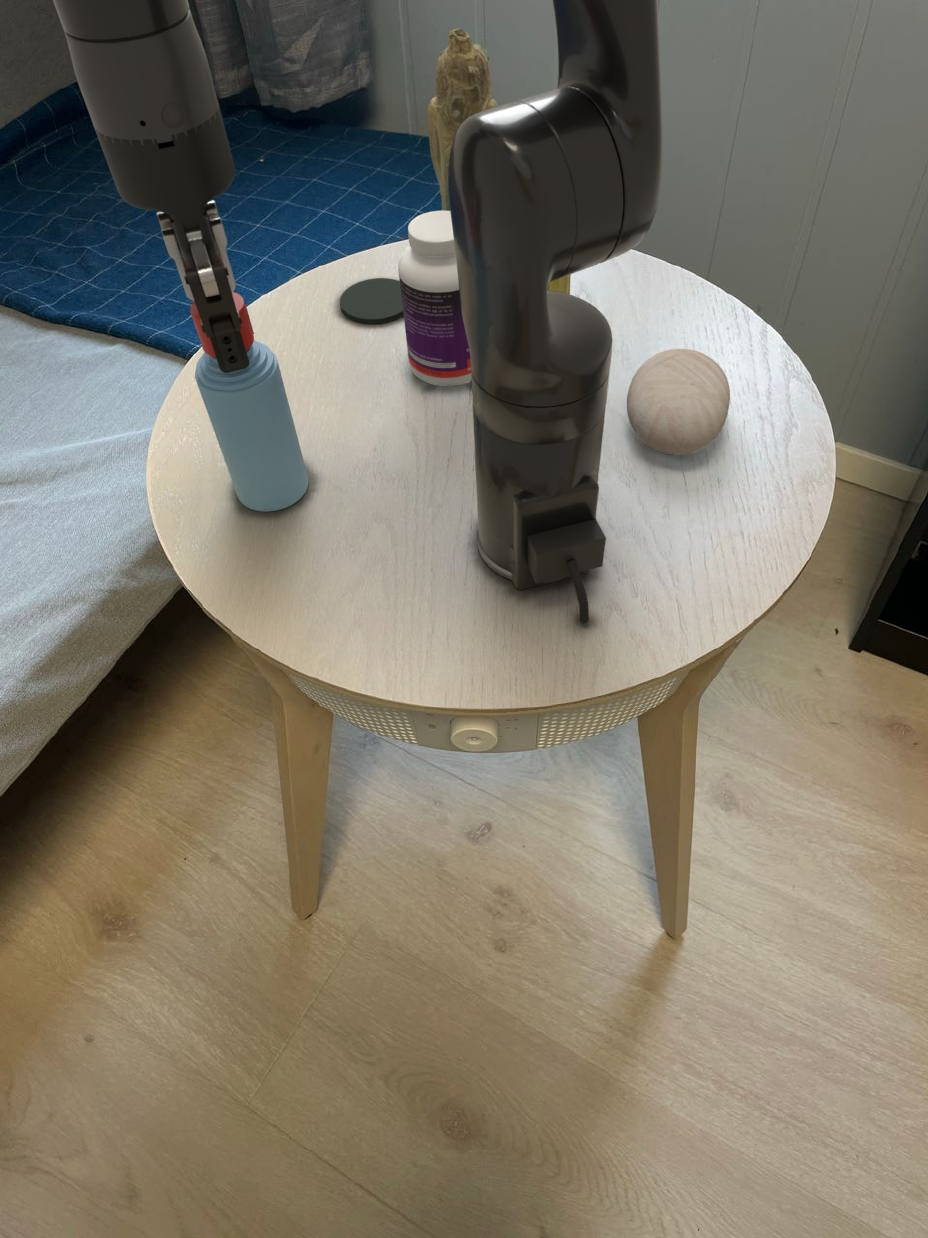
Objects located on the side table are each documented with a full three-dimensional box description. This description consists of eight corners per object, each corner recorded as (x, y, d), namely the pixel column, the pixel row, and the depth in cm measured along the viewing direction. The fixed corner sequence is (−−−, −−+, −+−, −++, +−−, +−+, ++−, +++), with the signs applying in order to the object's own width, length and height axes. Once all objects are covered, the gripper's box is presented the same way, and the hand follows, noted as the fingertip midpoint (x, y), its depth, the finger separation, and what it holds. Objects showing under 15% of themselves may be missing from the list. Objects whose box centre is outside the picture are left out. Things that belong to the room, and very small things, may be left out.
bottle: (314, 501, 74) (268, 326, 61) (241, 519, 73) (178, 344, 60) (302, 455, 78) (256, 280, 64) (232, 471, 77) (171, 297, 64)
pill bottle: (481, 395, 82) (476, 253, 71) (401, 388, 83) (383, 247, 72) (496, 345, 87) (493, 205, 76) (420, 339, 88) (406, 200, 77)
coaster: (421, 315, 91) (421, 310, 90) (348, 330, 90) (347, 325, 89) (403, 276, 96) (403, 272, 95) (334, 291, 95) (333, 286, 94)
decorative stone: (639, 373, 83) (646, 328, 79) (733, 388, 81) (744, 343, 77) (609, 458, 76) (615, 413, 72) (711, 478, 74) (723, 432, 70)
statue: (505, 268, 96) (503, 6, 76) (500, 310, 91) (497, 41, 71) (444, 267, 96) (427, 8, 77) (436, 310, 91) (416, 43, 72)
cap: (249, 322, 66) (239, 285, 63) (259, 350, 63) (249, 312, 61) (198, 334, 65) (186, 297, 62) (206, 363, 63) (194, 325, 60)
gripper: (83, 75, 55) (169, 314, 68) (100, 169, 46) (195, 420, 60) (199, 54, 56) (261, 293, 70) (236, 141, 48) (298, 394, 61)
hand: (230, 351), depth 65 cm, fingers closed on cap, 3 cm apart
